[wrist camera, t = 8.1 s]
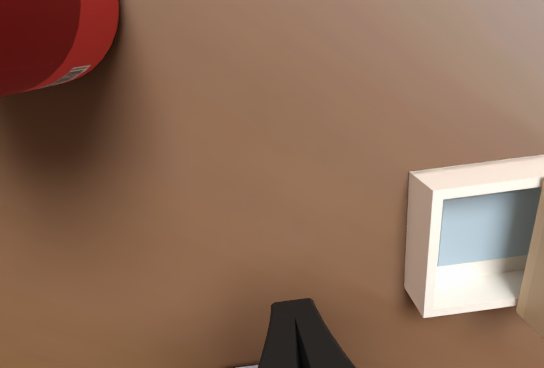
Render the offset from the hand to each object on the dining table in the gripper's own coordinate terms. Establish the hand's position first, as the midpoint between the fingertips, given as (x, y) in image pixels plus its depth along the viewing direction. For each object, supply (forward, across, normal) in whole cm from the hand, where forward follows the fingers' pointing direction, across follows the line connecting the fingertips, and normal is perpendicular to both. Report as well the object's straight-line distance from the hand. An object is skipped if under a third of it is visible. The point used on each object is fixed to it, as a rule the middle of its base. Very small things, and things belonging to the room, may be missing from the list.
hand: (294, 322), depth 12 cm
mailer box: (+10, -14, +4) cm, 18 cm away
